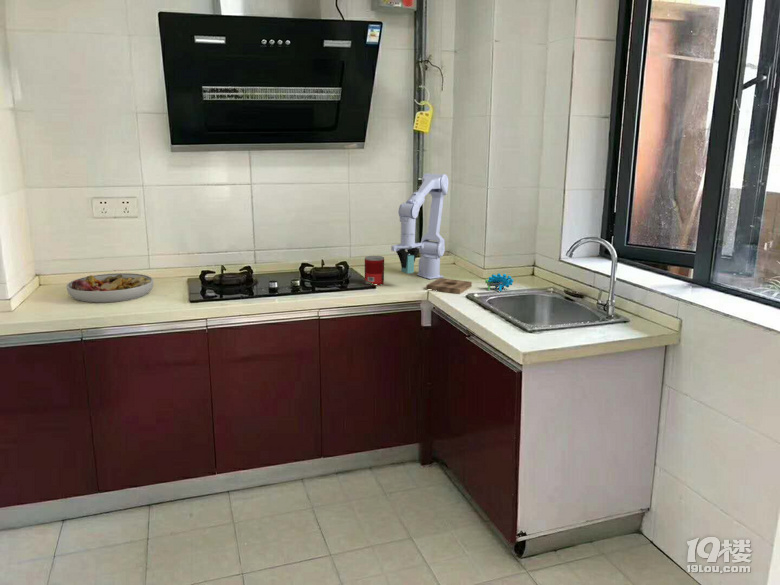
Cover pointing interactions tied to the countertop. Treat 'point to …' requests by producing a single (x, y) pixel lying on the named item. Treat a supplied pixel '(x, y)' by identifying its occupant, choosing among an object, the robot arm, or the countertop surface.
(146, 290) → the bowl
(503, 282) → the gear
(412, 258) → the post
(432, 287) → the slot plate
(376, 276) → the canned food
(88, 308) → the countertop surface
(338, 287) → the countertop surface
